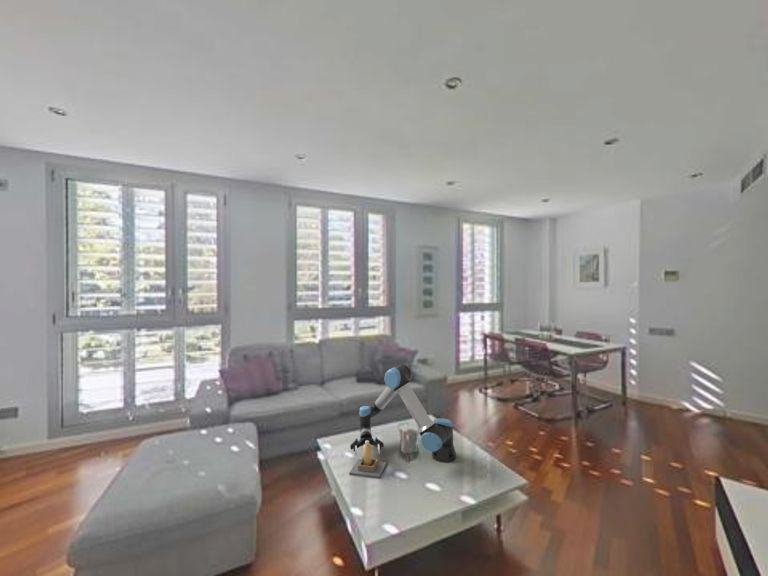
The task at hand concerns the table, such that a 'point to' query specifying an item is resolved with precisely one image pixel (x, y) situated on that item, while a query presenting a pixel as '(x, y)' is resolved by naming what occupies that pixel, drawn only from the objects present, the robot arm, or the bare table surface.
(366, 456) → the yellow bottle
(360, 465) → the dock
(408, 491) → the table surface
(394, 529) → the table surface
